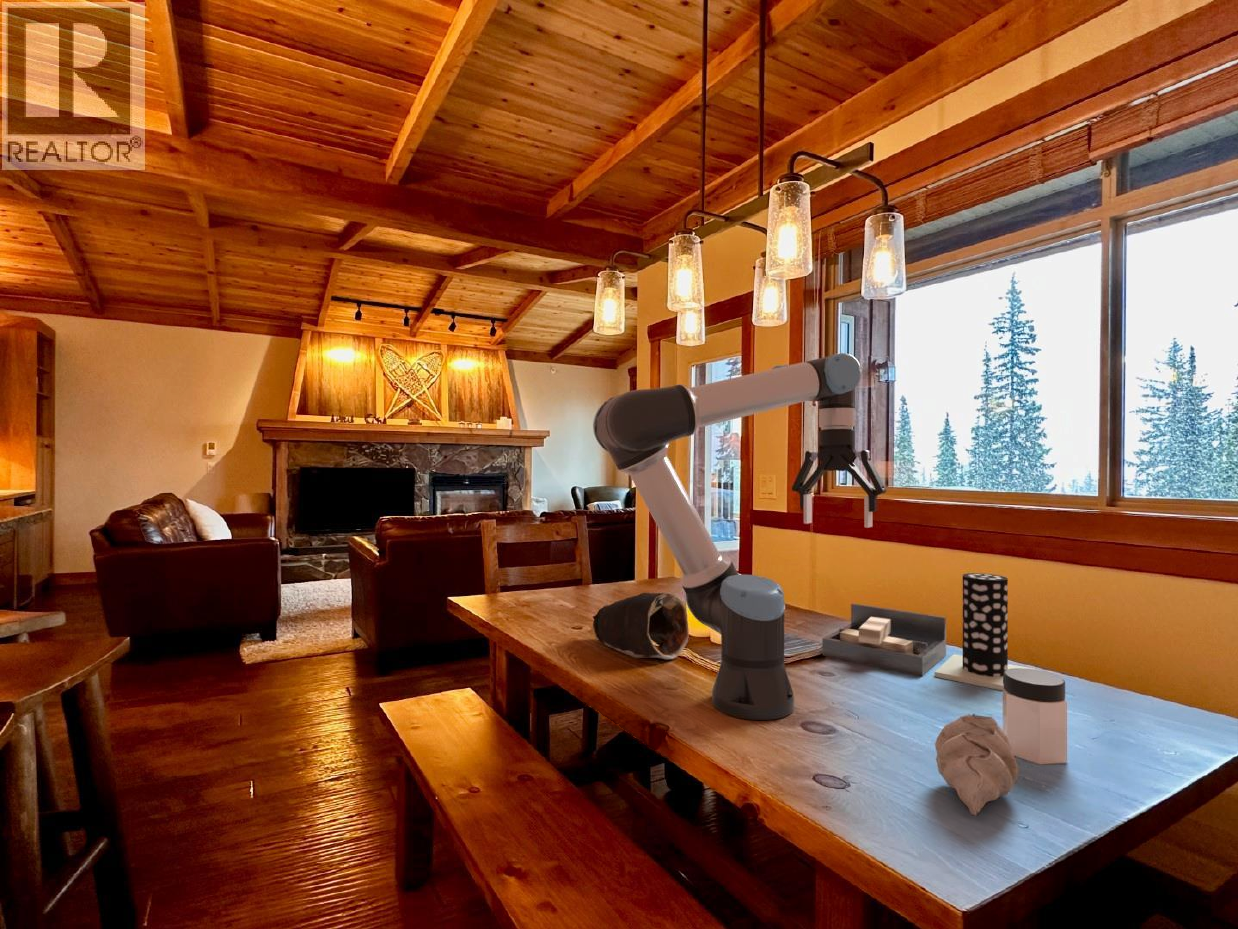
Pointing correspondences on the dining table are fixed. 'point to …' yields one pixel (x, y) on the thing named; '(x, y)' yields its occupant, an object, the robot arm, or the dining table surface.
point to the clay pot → (644, 625)
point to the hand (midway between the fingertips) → (837, 525)
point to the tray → (904, 625)
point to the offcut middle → (887, 643)
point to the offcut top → (874, 630)
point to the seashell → (976, 760)
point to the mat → (969, 674)
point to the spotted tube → (985, 624)
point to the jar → (1035, 715)
